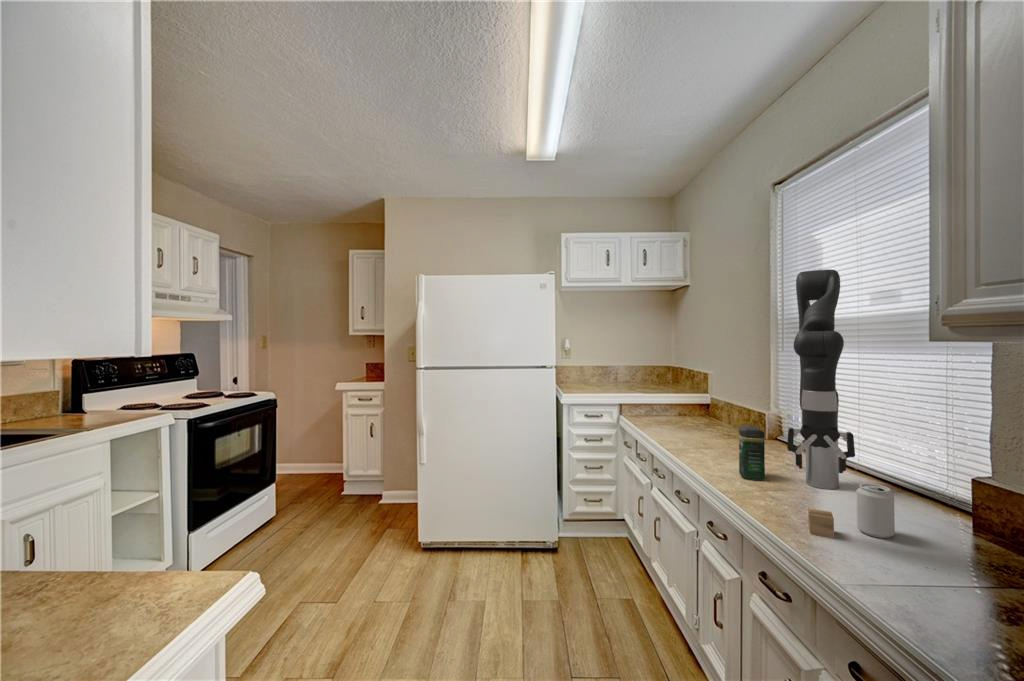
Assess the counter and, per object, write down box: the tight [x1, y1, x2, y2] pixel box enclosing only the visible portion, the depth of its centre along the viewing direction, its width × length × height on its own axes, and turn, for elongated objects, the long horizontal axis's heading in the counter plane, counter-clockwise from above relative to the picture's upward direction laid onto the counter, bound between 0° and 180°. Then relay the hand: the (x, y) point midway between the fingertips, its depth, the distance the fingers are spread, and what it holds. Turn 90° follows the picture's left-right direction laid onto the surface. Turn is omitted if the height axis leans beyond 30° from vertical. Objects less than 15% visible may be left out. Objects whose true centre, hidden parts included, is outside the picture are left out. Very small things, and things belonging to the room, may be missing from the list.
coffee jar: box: [738, 424, 766, 481], centre depth 159 cm, size 10×8×19 cm
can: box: [856, 483, 896, 539], centre depth 112 cm, size 8×8×12 cm
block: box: [807, 507, 835, 539], centre depth 113 cm, size 5×5×5 cm
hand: (820, 470), depth 113 cm, fingers open, 8 cm apart
